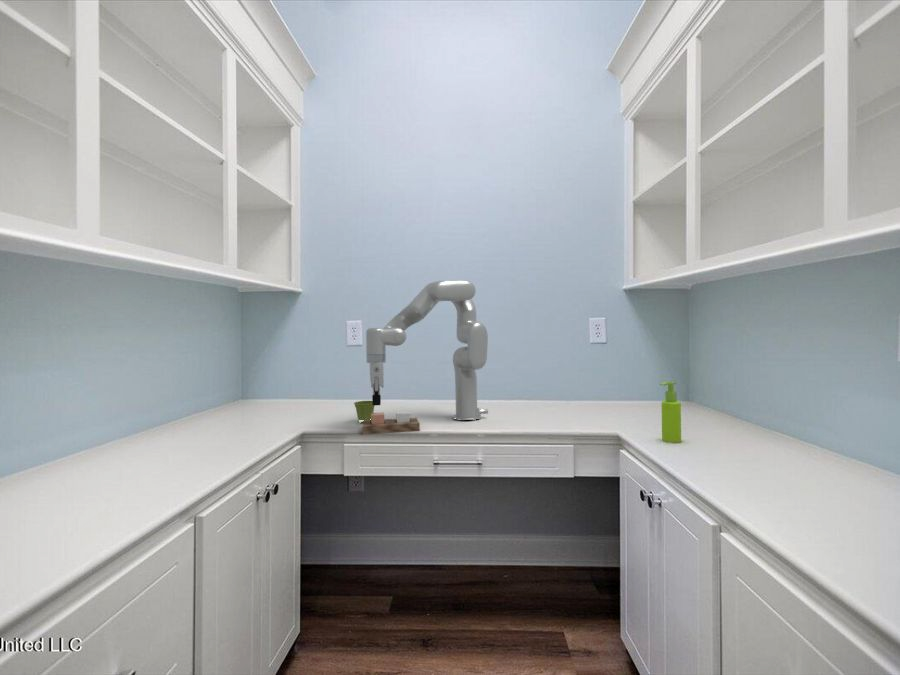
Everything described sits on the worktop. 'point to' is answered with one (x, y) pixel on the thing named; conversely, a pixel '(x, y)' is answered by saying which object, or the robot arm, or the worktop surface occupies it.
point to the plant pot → (364, 409)
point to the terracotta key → (377, 418)
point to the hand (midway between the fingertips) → (376, 404)
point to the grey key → (402, 417)
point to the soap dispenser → (671, 415)
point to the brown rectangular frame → (390, 426)
